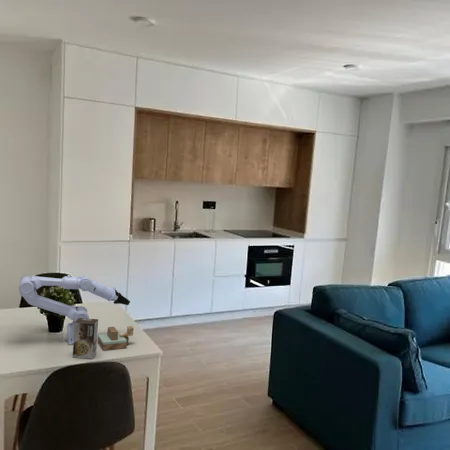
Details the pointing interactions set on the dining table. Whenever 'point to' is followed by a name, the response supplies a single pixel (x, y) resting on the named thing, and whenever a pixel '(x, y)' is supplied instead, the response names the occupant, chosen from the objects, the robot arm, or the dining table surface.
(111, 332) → the toolbox lid
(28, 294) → the robot arm
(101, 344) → the toolbox
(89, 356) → the cookie box
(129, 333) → the mallet
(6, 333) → the dining table surface
